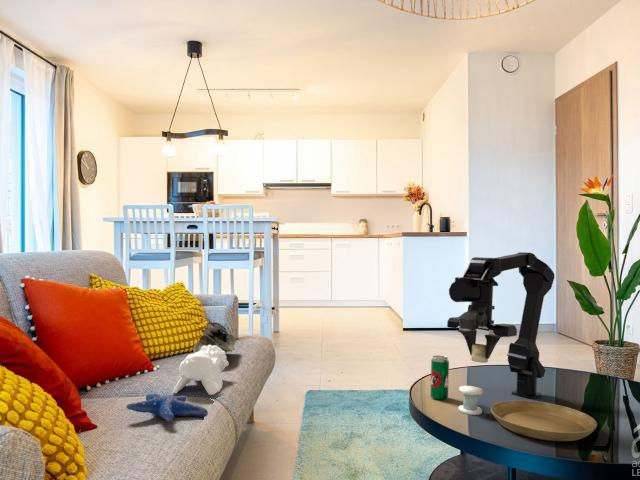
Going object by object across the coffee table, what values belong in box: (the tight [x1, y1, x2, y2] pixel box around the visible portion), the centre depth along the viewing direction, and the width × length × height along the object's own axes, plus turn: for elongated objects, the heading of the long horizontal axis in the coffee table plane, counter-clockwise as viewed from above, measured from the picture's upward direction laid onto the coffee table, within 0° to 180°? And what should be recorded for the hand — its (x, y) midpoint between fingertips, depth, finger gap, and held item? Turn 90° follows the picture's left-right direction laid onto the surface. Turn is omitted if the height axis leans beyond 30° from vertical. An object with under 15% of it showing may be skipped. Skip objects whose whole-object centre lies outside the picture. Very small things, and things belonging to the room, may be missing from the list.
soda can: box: [429, 354, 450, 401], centre depth 145 cm, size 5×5×12 cm
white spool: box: [458, 385, 483, 416], centre depth 134 cm, size 6×6×6 cm
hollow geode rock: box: [192, 321, 237, 356], centre depth 186 cm, size 28×13×15 cm
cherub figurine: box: [172, 345, 229, 396], centre depth 149 cm, size 13×12×20 cm
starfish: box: [126, 393, 209, 422], centre depth 124 cm, size 19×19×5 cm
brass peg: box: [470, 343, 489, 363], centre depth 140 cm, size 4×4×4 cm
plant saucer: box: [490, 400, 598, 442], centre depth 124 cm, size 24×24×3 cm
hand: (479, 357), depth 140 cm, fingers closed on brass peg, 4 cm apart
